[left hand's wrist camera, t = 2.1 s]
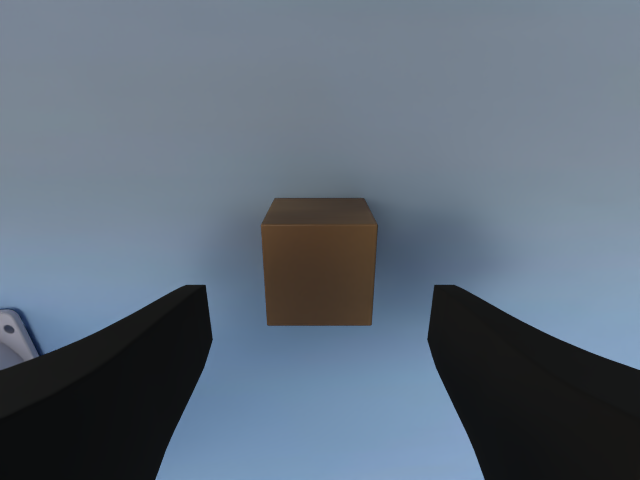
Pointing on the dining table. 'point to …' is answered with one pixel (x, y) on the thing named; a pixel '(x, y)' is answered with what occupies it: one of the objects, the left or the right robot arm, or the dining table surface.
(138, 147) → the dining table surface
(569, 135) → the dining table surface
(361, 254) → the block
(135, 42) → the dining table surface
